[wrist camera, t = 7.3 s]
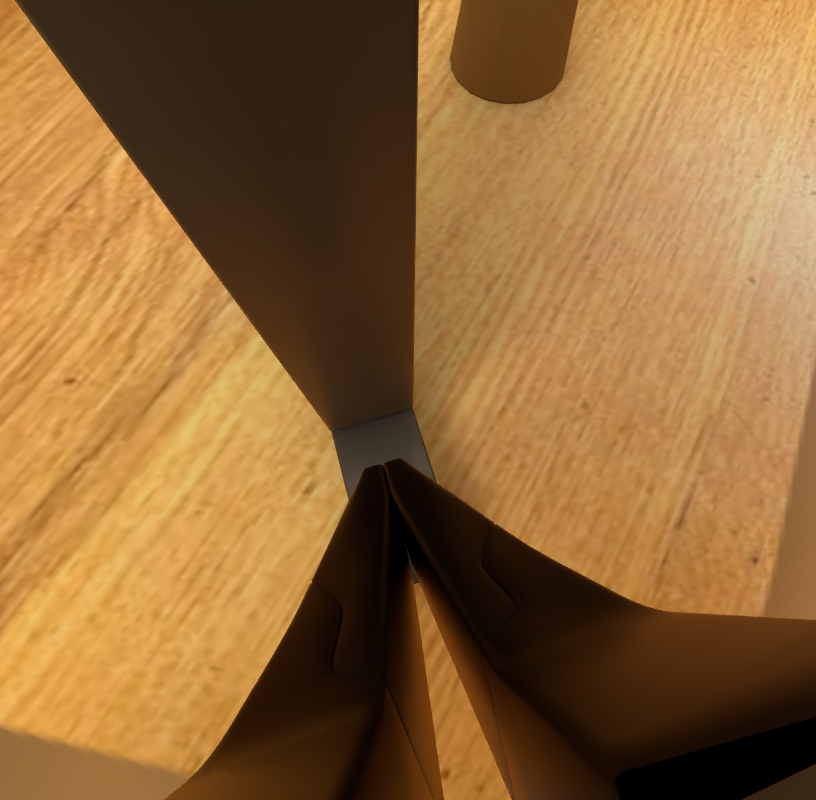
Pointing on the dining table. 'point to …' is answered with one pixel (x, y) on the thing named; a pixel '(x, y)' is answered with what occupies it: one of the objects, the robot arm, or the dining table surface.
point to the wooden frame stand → (381, 448)
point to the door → (276, 165)
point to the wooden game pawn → (512, 47)
